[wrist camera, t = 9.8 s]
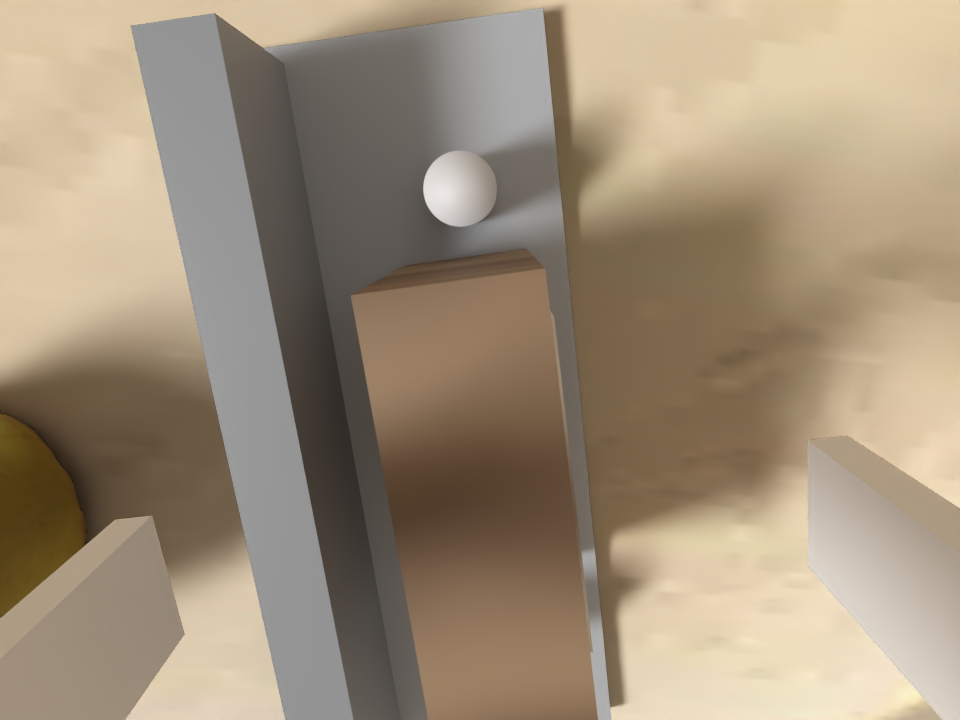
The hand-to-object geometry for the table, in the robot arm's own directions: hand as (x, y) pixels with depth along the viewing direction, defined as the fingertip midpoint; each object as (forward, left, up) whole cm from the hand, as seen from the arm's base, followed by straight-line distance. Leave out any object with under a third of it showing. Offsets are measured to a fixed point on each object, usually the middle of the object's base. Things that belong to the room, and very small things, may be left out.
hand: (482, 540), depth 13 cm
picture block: (0, 0, -9) cm, 9 cm away
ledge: (0, -2, -10) cm, 10 cm away
